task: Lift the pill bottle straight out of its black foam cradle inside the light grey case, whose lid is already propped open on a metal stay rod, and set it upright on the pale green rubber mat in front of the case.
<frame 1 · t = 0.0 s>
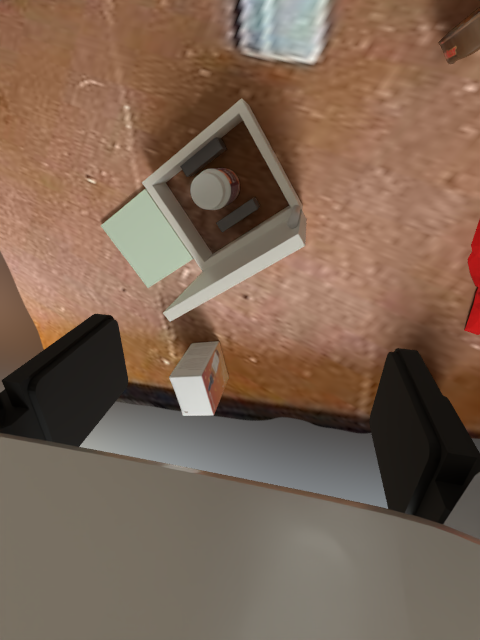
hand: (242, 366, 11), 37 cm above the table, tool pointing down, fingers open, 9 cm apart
small box: (210, 359, 58), on the table
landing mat: (148, 241, 50), on the table
pill bottle: (224, 186, 44), resting in equipment case
equipment case: (227, 192, 44), on the table
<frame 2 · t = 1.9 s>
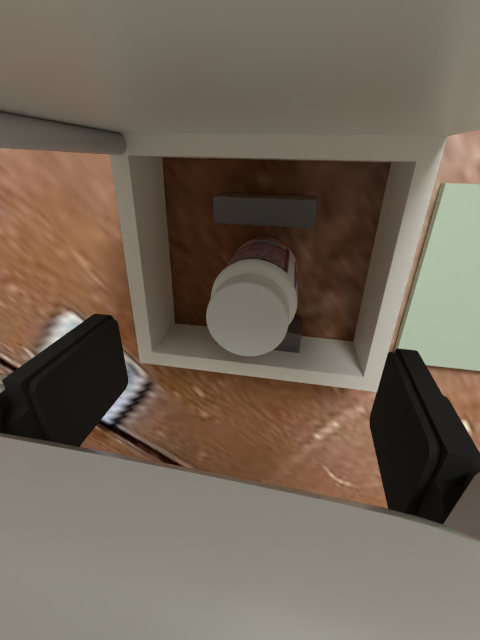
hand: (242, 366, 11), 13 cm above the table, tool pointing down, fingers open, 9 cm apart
pill bottle: (264, 269, 22), resting in equipment case
equipment case: (264, 256, 22), on the table
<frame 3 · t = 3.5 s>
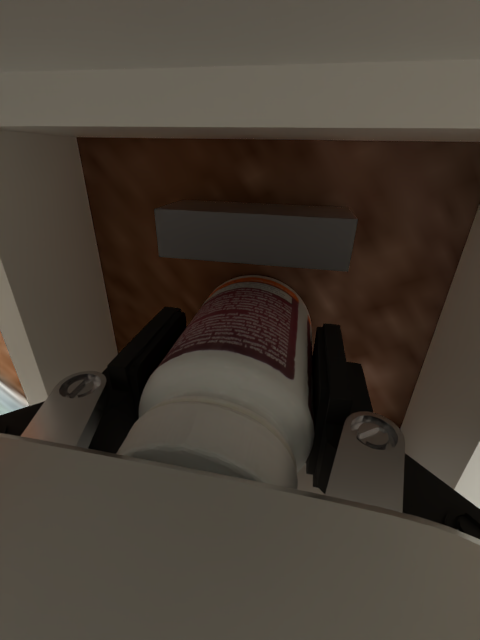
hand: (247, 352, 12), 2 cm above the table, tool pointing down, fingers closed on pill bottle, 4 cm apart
pill bottle: (256, 322, 14), resting in equipment case, touching gripper
equipment case: (257, 304, 13), on the table
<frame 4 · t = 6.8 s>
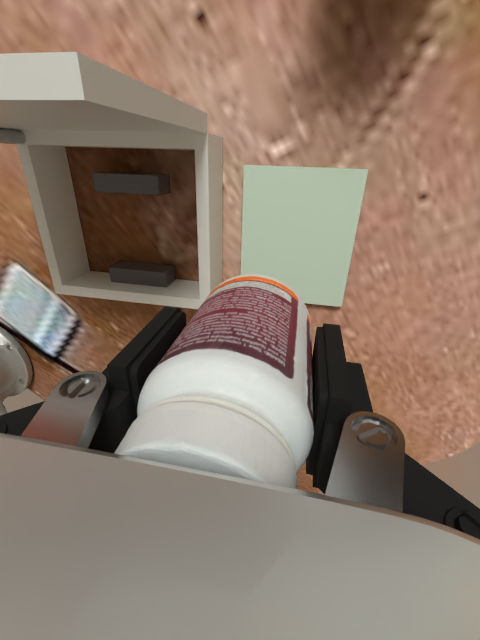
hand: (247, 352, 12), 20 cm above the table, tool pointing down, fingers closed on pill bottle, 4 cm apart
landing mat: (296, 239, 29), on the table
pill bottle: (256, 322, 14), point 17 cm above the table, touching gripper
equipment case: (143, 218, 31), on the table
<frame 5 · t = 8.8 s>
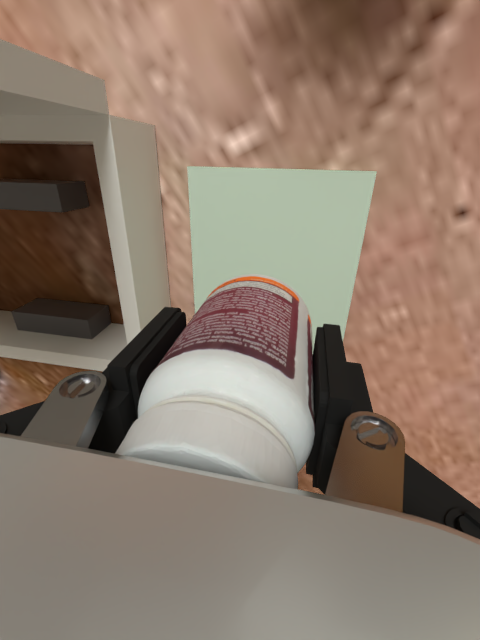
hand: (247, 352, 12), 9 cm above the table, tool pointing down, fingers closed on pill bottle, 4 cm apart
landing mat: (271, 273, 20), on the table
pill bottle: (256, 322, 14), point 7 cm above the table, touching gripper
equipment case: (57, 242, 22), on the table
when the fingers open (4 cm above the table, at t = 10.2 s): pill bottle drops 1 cm, resting on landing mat.
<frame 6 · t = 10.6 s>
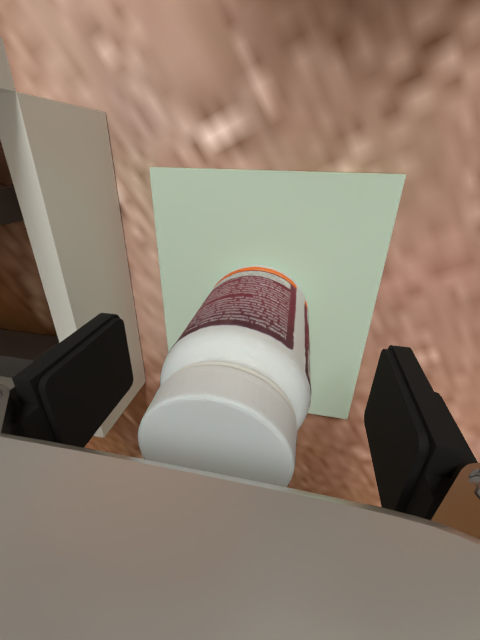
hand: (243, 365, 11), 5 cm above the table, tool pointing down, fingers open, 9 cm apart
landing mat: (262, 304, 15), on the table
pill bottle: (258, 309, 15), resting on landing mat
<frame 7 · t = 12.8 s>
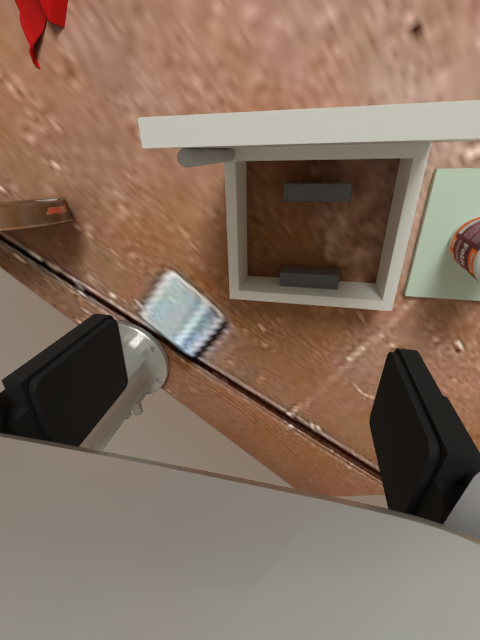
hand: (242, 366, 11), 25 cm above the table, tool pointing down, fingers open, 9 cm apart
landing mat: (476, 238, 29), on the table
pill bottle: (476, 240, 29), resting on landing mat
equipment case: (313, 224, 32), on the table
tin: (34, 208, 39), on the table
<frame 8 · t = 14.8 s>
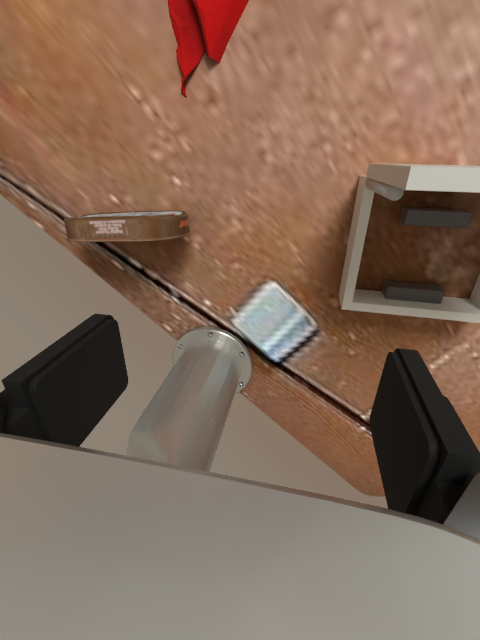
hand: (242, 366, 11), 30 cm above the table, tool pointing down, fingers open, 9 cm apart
equipment case: (420, 244, 36), on the table
tin: (144, 219, 41), on the table
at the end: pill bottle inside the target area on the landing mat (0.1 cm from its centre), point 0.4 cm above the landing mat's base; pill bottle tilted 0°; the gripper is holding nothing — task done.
